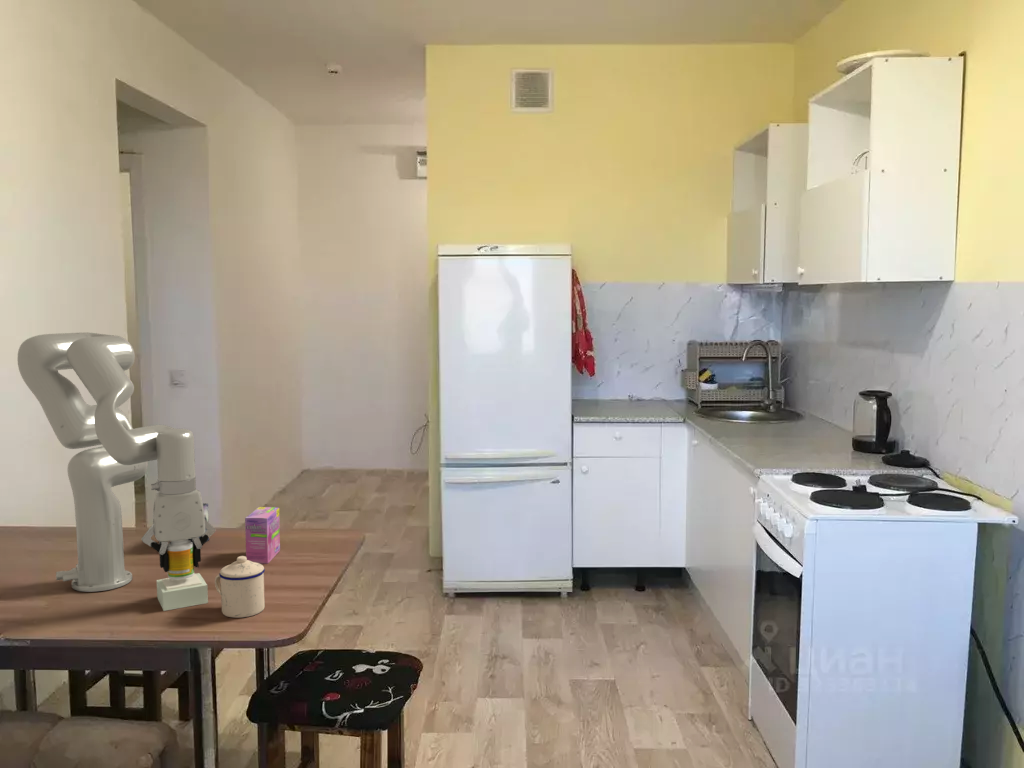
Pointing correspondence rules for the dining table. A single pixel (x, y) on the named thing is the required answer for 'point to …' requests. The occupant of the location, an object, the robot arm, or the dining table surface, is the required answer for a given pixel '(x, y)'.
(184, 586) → the pedestal
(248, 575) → the teacup with lid
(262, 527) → the box
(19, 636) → the dining table surface
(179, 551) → the supplement bottle
